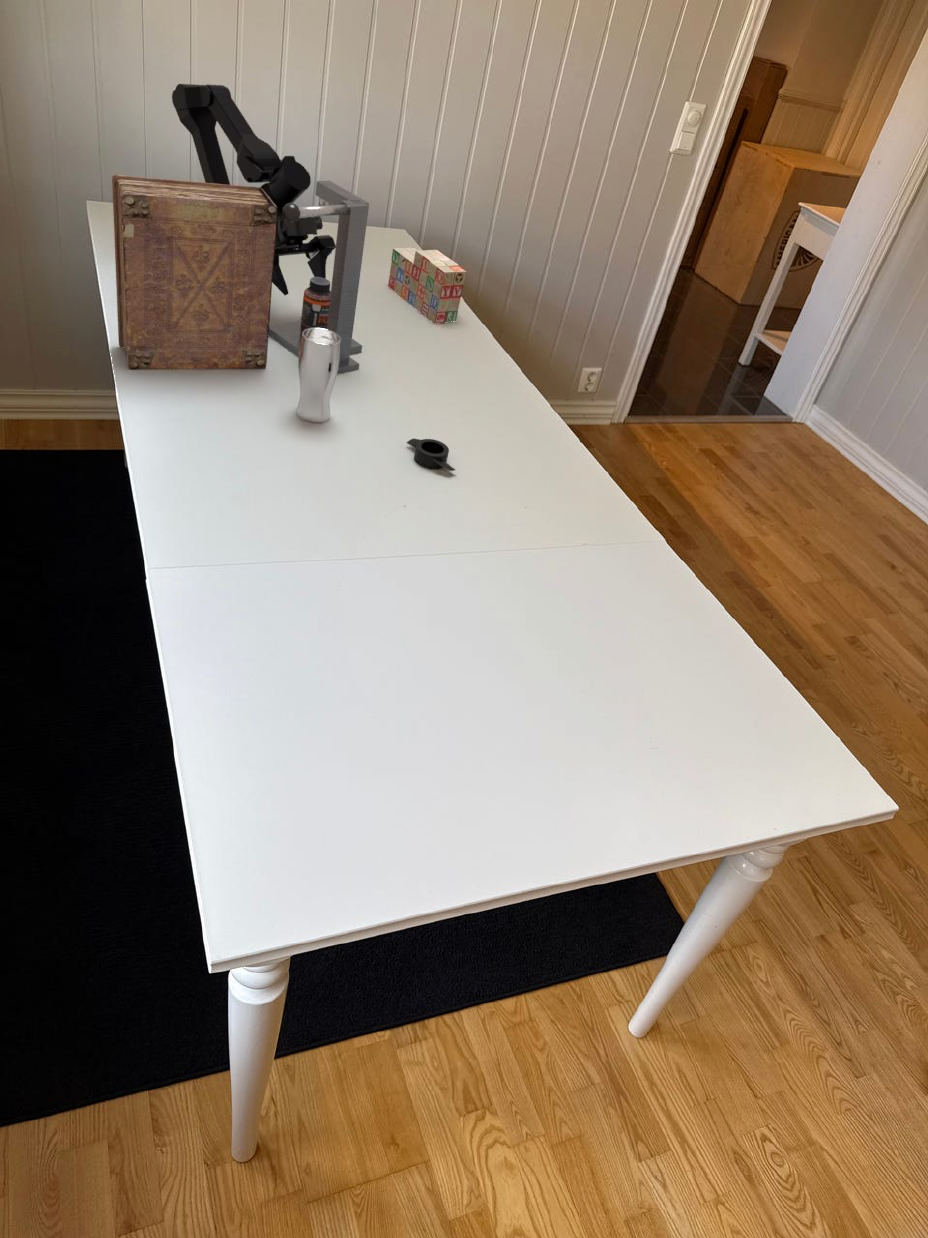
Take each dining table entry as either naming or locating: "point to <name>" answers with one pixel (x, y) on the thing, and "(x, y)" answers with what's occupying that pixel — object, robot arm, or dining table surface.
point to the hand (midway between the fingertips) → (305, 291)
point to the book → (193, 273)
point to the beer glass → (317, 373)
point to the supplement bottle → (316, 304)
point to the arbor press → (334, 269)
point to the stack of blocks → (427, 282)
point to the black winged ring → (430, 454)
